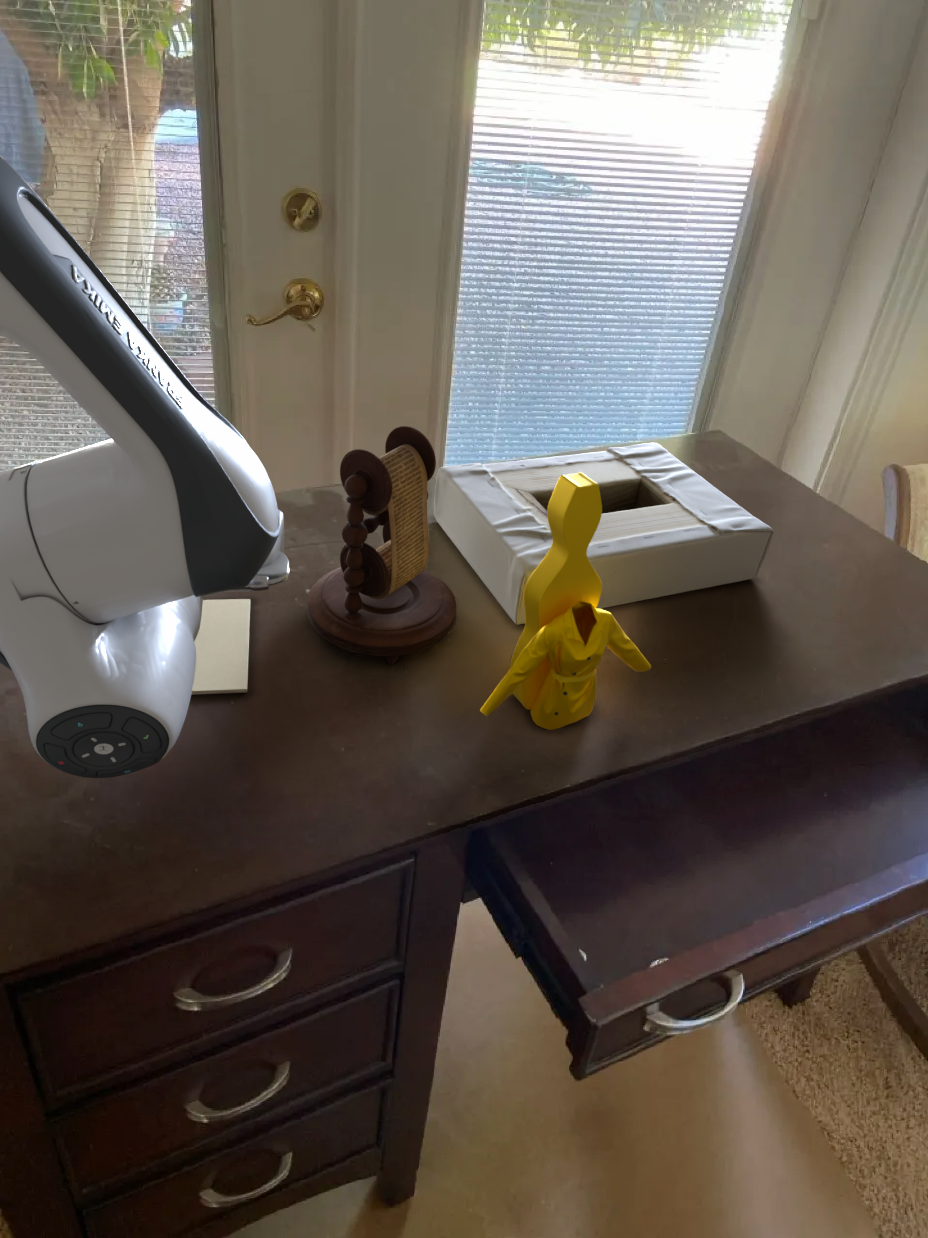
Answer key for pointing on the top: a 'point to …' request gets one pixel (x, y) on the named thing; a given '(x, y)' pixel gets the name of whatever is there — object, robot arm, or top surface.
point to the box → (601, 524)
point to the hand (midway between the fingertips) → (159, 494)
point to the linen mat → (222, 647)
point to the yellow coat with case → (564, 618)
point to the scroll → (385, 557)
